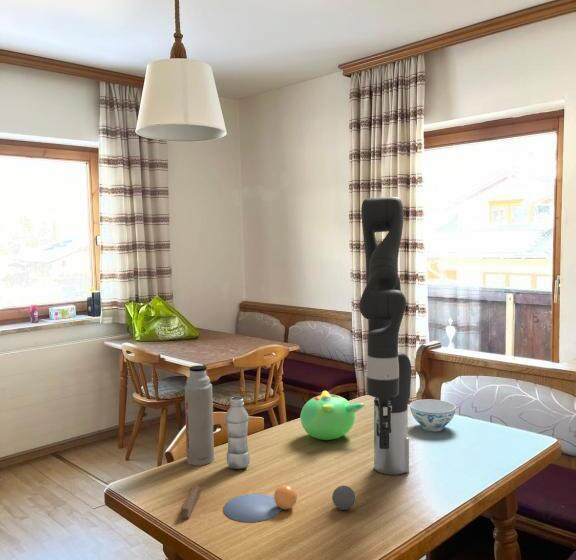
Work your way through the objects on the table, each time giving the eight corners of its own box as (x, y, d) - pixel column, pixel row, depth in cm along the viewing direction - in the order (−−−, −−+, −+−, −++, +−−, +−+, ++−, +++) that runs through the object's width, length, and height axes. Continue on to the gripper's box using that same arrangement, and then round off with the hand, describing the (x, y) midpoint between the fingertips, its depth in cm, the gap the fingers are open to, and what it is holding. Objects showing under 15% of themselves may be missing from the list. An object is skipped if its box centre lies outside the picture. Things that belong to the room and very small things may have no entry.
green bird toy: (336, 425, 196) (335, 383, 194) (367, 440, 181) (367, 395, 180) (291, 435, 186) (291, 392, 185) (320, 452, 172) (320, 404, 171)
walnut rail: (199, 495, 144) (199, 486, 144) (188, 519, 132) (188, 508, 132) (193, 495, 144) (193, 486, 144) (182, 519, 132) (181, 508, 132)
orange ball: (297, 502, 139) (297, 481, 139) (296, 513, 134) (296, 491, 133) (275, 502, 140) (274, 481, 139) (273, 513, 134) (272, 490, 134)
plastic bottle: (246, 472, 158) (245, 402, 156) (223, 471, 159) (221, 401, 157) (252, 463, 164) (251, 395, 162) (230, 462, 165) (228, 394, 164)
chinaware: (461, 435, 184) (461, 412, 183) (414, 436, 184) (414, 412, 184) (448, 420, 199) (448, 399, 198) (405, 421, 199) (405, 399, 199)
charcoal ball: (354, 503, 138) (354, 481, 138) (356, 514, 133) (356, 491, 132) (332, 503, 139) (331, 481, 138) (332, 514, 133) (332, 491, 133)
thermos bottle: (185, 466, 163) (182, 370, 161) (188, 455, 171) (185, 364, 169) (213, 464, 164) (210, 369, 161) (214, 454, 171) (212, 363, 169)
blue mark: (283, 494, 144) (283, 494, 144) (279, 522, 130) (279, 521, 130) (228, 494, 145) (228, 493, 144) (218, 521, 131) (218, 520, 131)
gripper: (402, 382, 126) (402, 453, 127) (395, 367, 140) (395, 432, 141) (368, 381, 126) (368, 453, 127) (364, 367, 140) (364, 431, 142)
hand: (382, 442), depth 134 cm, fingers open, 8 cm apart
